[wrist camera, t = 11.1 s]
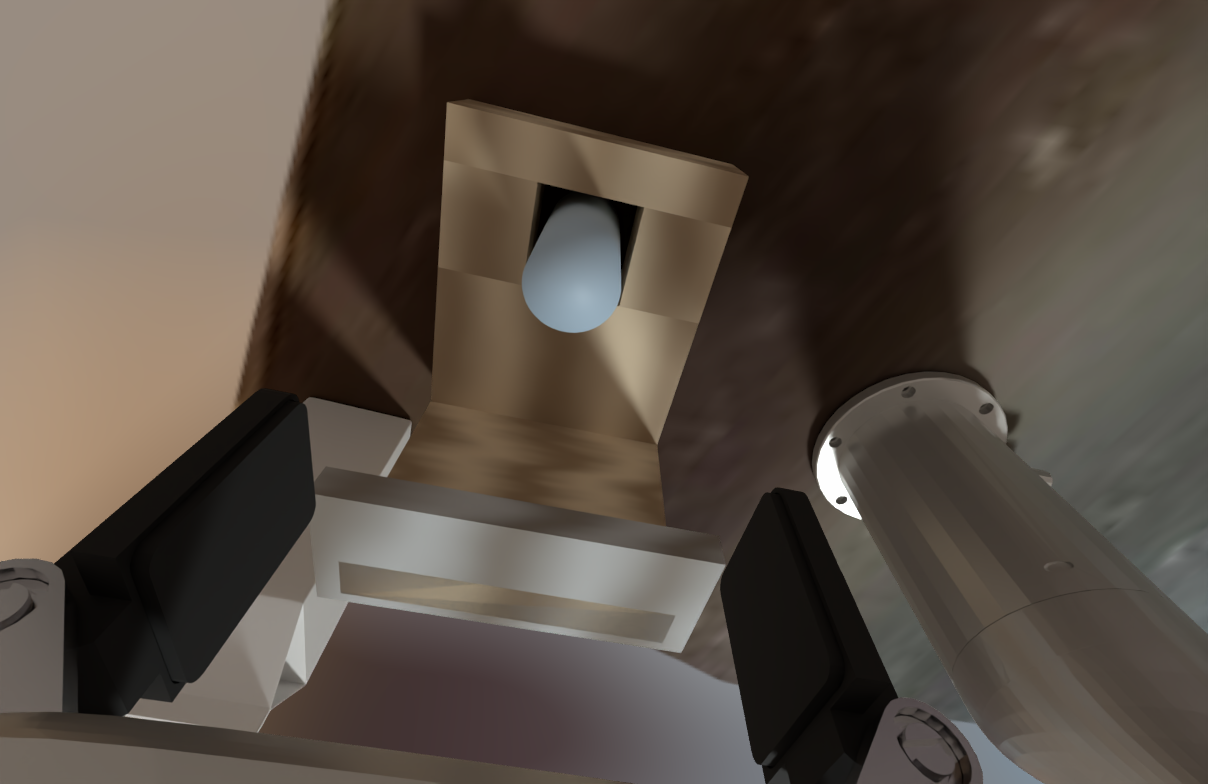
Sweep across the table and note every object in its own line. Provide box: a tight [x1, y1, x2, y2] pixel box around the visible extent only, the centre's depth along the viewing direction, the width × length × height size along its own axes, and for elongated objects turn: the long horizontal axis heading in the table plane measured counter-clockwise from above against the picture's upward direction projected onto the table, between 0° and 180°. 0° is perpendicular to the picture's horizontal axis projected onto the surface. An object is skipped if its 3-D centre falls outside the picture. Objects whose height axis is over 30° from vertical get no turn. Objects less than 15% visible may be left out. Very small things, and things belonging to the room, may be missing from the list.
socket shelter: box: [309, 99, 749, 653], centre depth 25 cm, size 16×18×16 cm
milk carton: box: [125, 397, 411, 733], centre depth 30 cm, size 7×7×19 cm
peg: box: [522, 191, 621, 333], centre depth 25 cm, size 4×4×10 cm
